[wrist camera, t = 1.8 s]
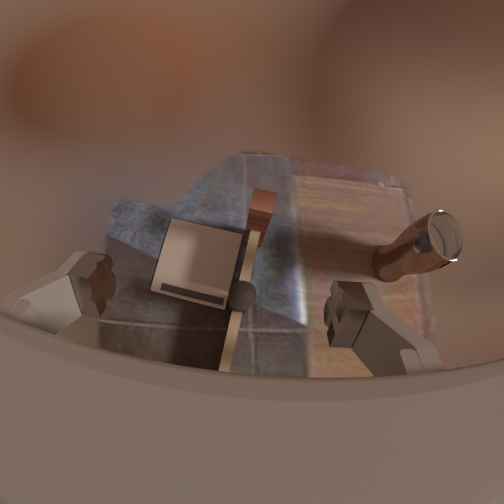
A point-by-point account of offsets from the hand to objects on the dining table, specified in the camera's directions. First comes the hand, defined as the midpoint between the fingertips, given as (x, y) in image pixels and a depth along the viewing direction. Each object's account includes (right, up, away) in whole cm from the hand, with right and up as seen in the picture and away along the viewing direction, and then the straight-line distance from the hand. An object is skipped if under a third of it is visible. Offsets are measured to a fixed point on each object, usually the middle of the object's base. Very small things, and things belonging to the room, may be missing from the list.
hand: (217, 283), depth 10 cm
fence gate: (+1, 0, +30) cm, 30 cm away
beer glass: (+23, -1, +32) cm, 40 cm away
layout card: (-7, 0, +30) cm, 30 cm away
